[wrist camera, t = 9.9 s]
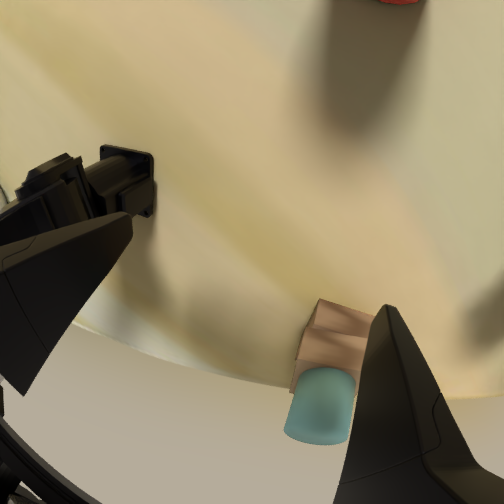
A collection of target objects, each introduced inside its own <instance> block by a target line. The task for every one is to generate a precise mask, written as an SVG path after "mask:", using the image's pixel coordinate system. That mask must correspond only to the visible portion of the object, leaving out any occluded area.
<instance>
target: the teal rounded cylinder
mask: <svg viewBox="0 0 504 504" xmlns="http://www.w3.org/2000/svg"><path fill="white" fill-rule="evenodd" d="M355 387H356V382H355V380H354V378H353V377H352V376H351V375H349V374H348V373H346V372H344V371H341V370H338V369H334V368H325V367H321V368H313V369H309V370H306V371H304V372H303V373H302V374H301V375H300V376H299V379H298V383H297V386H296V390H295V393H294V397H293V400H292V404H291V407H290V411H289V414H288V417H287V421H286V424H285V427H284V432H285V433H286V434H287V435H288V436H289V437H291V438H293V439H295V440H298V441H301V442H304V443H309V444H315V445H334V444H339V443H342V442H344V441H346V440H347V438H348V433H349V427H350V421H351V415H352V409H353V402H354V395H355Z"/></svg>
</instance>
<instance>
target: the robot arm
mask: <svg viewBox="0 0 504 504" xmlns="http://www.w3.org/2000/svg"><path fill="white" fill-rule="evenodd" d="M104 149H105V150H104ZM146 157H147V158H148V160H147V159H146ZM82 162H83V161H82V158H81V156H79V157H76V158H73V157H70V156H69V155H68V154H67V153H64V154H62V155H60V156H58V157H56V158H54V159H51V160H49V161H47V162H45V163H43V164H42V165H40V166H38V167H36V168H34V169H32V170H30V171H29V172H28V175H27V177H26V180H25V181H24V182H23V183H21V184H22V186H20V187H19V188H17V189H16V190H15V193H16V196H17V198H16V199H15V200H13V201H12V202H10V203H8V204H7V205H5V206H4V207H2V208H1V209H0V383H1V382H2V380H3V379H4V378H5V379H6V380H7V381H8V382H9V383H10V384H11V385H12V386H13V387H14V388H15V389H16V390H17V391H18V392H19V393H20V394H21V395H22V396H25V394H26V393H27V391H28V389H29V388H30V386H31V384H32V382H33V381H34V379H35V377H36V376H37V374H38V372H39V371H40V369H41V368H42V366H43V364H44V363H45V361H46V359H47V358H48V356H49V355H50V353H51V352H52V350H53V349H54V347H55V346H56V344H57V342H58V341H59V340H60V338H61V336H62V335H63V334H64V332H65V330H66V329H67V328H68V326H69V325H70V324H71V322H72V321H73V319H74V318H75V317H76V315H77V314H78V312H79V311H80V310H81V308H82V307H83V306H84V304H85V303H86V302H87V300H88V299H89V298H90V296H91V295H92V294H93V292H94V291H95V290H96V288H97V287H98V286H99V285H100V283H101V282H102V281H103V279H104V278H105V277H106V276H107V274H108V273H109V272H110V270H111V269H112V268H113V266H114V265H115V263H116V262H117V260H118V259H119V257H120V256H121V254H122V253H123V251H124V250H125V248H126V247H127V245H128V244H129V242H130V241H131V239H132V237H133V226H132V218H133V217H134V216H135V215H137V214H138V215H141V216H144V217H147V218H148V217H150V216H151V215H152V213H153V206H152V202H153V178H152V177H153V157H152V155H151V154H150V153H147V152H142V151H137V150H132V149H127V148H122V147H117V146H112V145H106V144H104V145H102V146H101V147H100V161H99V162H97V163H95V164H93V165H91V166H89V167H87V168H85V169H84V168H83V165H82ZM147 212H148V213H147ZM3 402H4V401H3V387H2V386H1V385H0V504H102V503H100V502H99V501H97V500H96V499H94V498H93V497H91V496H90V495H88V494H87V493H85V492H84V491H83V490H81V489H79V488H78V487H77V486H76V485H74V484H73V483H72V482H70V481H69V480H68V479H66V478H65V477H64V476H63V475H61V474H60V473H59V472H58V471H57V470H55V469H54V468H53V467H52V466H51V465H49V464H48V463H47V462H46V461H45V460H44V459H43V458H41V457H40V456H39V455H38V454H37V453H36V452H35V451H34V450H33V449H32V448H31V447H30V446H29V445H28V444H27V443H26V442H24V440H23V439H22V438H21V437H19V435H18V434H17V433H16V432H15V431H14V430H13V429H12V428H11V427H10V426H9V425H8V423H6V421H5V420H4V419H3V416H4V403H3ZM21 481H22V482H23V483H24V484H25V485H26V486H28V487H29V488H30V489H31V490H32V491H33V492H34V493H35V494H36V495H37V496H38V497H40V498H41V499H42V500H38V499H37V498H36V497H35V496H34V495H33V494H32V493H31V492H30V491H28V490H27V489H25V488H24V487H22V486H21V485H19V483H20V482H21ZM333 504H504V479H502V478H500V477H499V476H496V475H495V474H493V473H491V472H489V471H487V470H485V469H484V468H482V467H481V466H480V465H479V464H478V463H477V462H476V460H475V459H474V457H473V455H472V453H471V451H470V449H469V447H468V445H467V443H466V441H465V439H464V437H463V435H462V433H461V431H460V430H459V428H458V426H457V424H456V422H455V420H454V418H453V416H452V414H451V412H450V410H449V407H448V405H447V403H446V401H445V399H444V397H443V395H442V393H441V392H440V388H439V386H438V384H437V382H436V380H435V378H434V376H433V374H432V372H431V370H430V368H429V366H428V364H427V362H426V360H425V358H424V356H423V354H422V353H421V351H420V349H419V347H418V345H417V343H416V341H415V340H414V338H413V336H412V334H411V332H410V331H409V329H408V327H407V325H406V323H405V322H404V320H403V318H402V317H401V315H400V313H399V311H398V310H397V308H396V307H394V306H391V305H388V304H384V305H383V306H382V307H381V309H380V310H379V312H378V313H377V315H376V316H375V318H374V319H373V321H372V323H371V326H370V330H369V335H368V340H367V345H366V349H365V354H364V358H363V363H362V368H361V374H360V382H359V389H358V396H357V402H356V408H355V414H354V419H353V425H352V430H351V435H350V440H349V444H348V449H347V453H346V458H345V462H344V466H343V470H342V474H341V478H340V481H339V485H338V488H337V492H336V495H335V498H334V501H333Z"/></svg>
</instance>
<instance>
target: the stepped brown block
mask: <svg viewBox="0 0 504 504" xmlns="http://www.w3.org/2000/svg"><path fill="white" fill-rule="evenodd" d="M367 340H368V339H367V338H362V337H356V336H350V335H345V334H339V333H334V332H329V331H324V330H319V329H314V328H311V327H306V329H305V333H304V337H303V340H302V344H301V348H300V351H299V355H298V358H297V363H296V367H295V371H294V375H293V379H292V383H291V387H290V391H289V392H290V393H293V394H294V393H295V390H296V386H297V383H298V379H299V376H300V375H301V374H302V373H303V372H304V371H306V370H309V369H313V368H321V367H325V368H334V369H338V370H341V371H344V372H346V373H348V374H349V375H351V376H352V377H353V378H354V380H355V382H356V387H355V395H354V398H355V396H356V395H357V393H358V389H359V382H360V374H361V368H362V363H363V358H364V354H365V349H366V345H367Z"/></svg>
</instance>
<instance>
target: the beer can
mask: <svg viewBox="0 0 504 504" xmlns="http://www.w3.org/2000/svg"><path fill="white" fill-rule="evenodd" d="M379 1H382V2H385V3H393V4H409V3H415V2H417V1H419V0H379Z"/></svg>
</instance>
